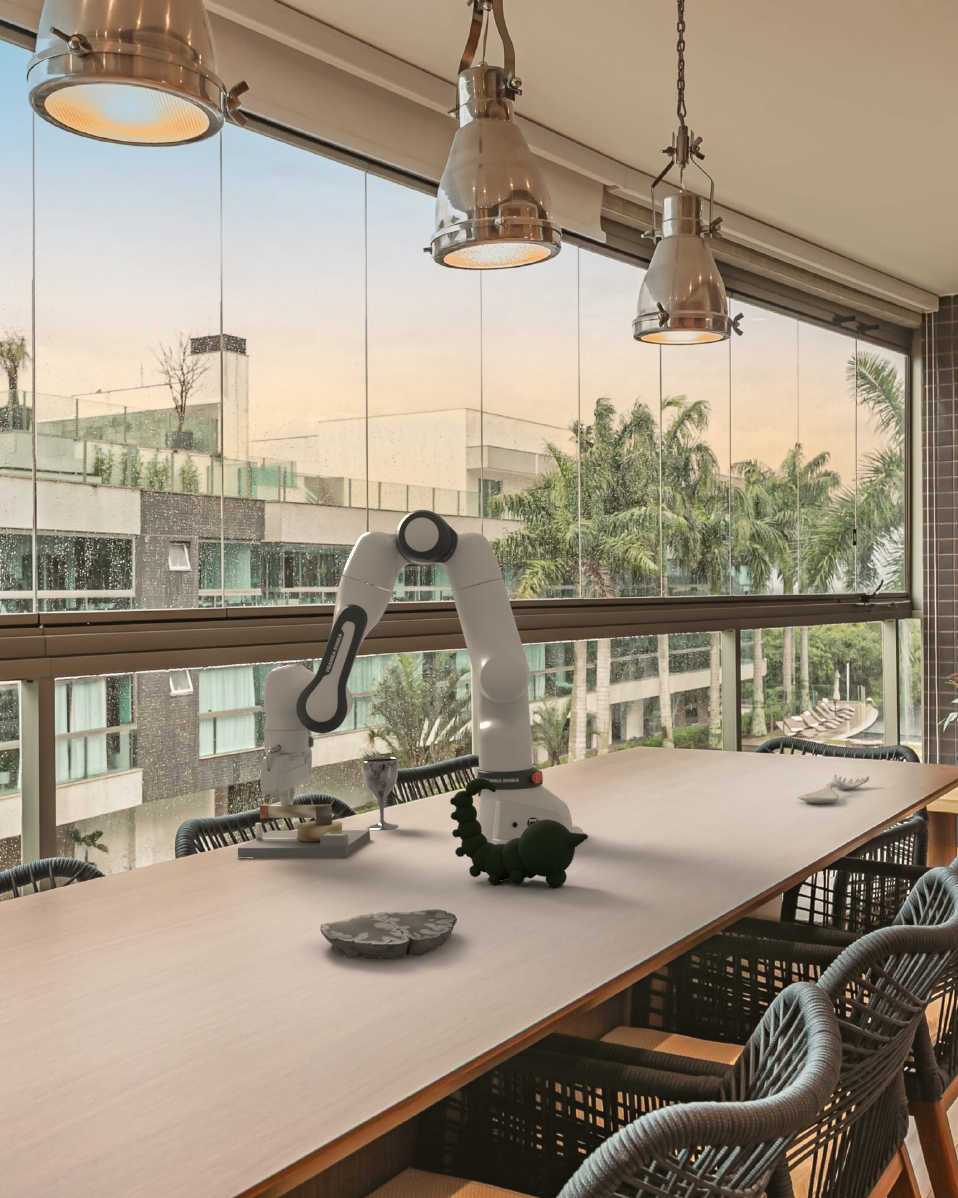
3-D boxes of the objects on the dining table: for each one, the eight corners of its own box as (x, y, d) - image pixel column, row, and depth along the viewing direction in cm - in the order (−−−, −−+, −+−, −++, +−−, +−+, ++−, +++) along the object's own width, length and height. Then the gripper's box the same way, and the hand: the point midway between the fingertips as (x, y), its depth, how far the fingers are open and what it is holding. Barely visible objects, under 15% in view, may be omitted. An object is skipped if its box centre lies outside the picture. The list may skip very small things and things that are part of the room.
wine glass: (394, 830, 246) (392, 761, 246) (359, 830, 248) (357, 762, 248) (404, 823, 254) (402, 757, 254) (370, 823, 255) (368, 757, 256)
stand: (370, 839, 237) (369, 814, 237) (345, 858, 219) (344, 831, 219) (270, 840, 240) (269, 815, 240) (238, 858, 223) (237, 831, 223)
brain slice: (345, 975, 147) (344, 952, 147) (310, 942, 163) (310, 922, 163) (483, 953, 155) (482, 931, 155) (437, 923, 170) (437, 904, 170)
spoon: (871, 788, 280) (870, 774, 280) (830, 809, 254) (829, 793, 254) (834, 786, 285) (834, 773, 285) (791, 806, 259) (790, 791, 259)
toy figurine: (450, 894, 194) (582, 893, 182) (437, 783, 196) (567, 775, 183) (477, 881, 203) (605, 880, 191) (464, 776, 204) (591, 768, 192)
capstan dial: (349, 833, 232) (347, 801, 233) (332, 842, 224) (331, 809, 224) (272, 832, 237) (271, 801, 237) (253, 840, 228) (252, 808, 228)
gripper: (282, 748, 223) (283, 819, 222) (316, 737, 243) (317, 802, 242) (252, 748, 224) (253, 818, 224) (288, 737, 244) (289, 801, 244)
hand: (287, 810), depth 233 cm, fingers closed
